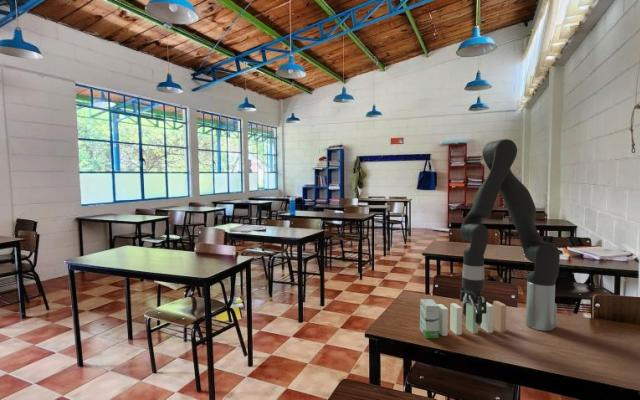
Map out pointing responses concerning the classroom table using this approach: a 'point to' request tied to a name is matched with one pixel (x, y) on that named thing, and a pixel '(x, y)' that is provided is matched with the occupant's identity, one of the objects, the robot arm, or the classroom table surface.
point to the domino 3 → (471, 319)
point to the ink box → (429, 318)
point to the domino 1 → (443, 320)
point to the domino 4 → (488, 318)
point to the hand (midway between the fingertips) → (472, 318)
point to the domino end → (499, 316)
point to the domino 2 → (456, 318)
